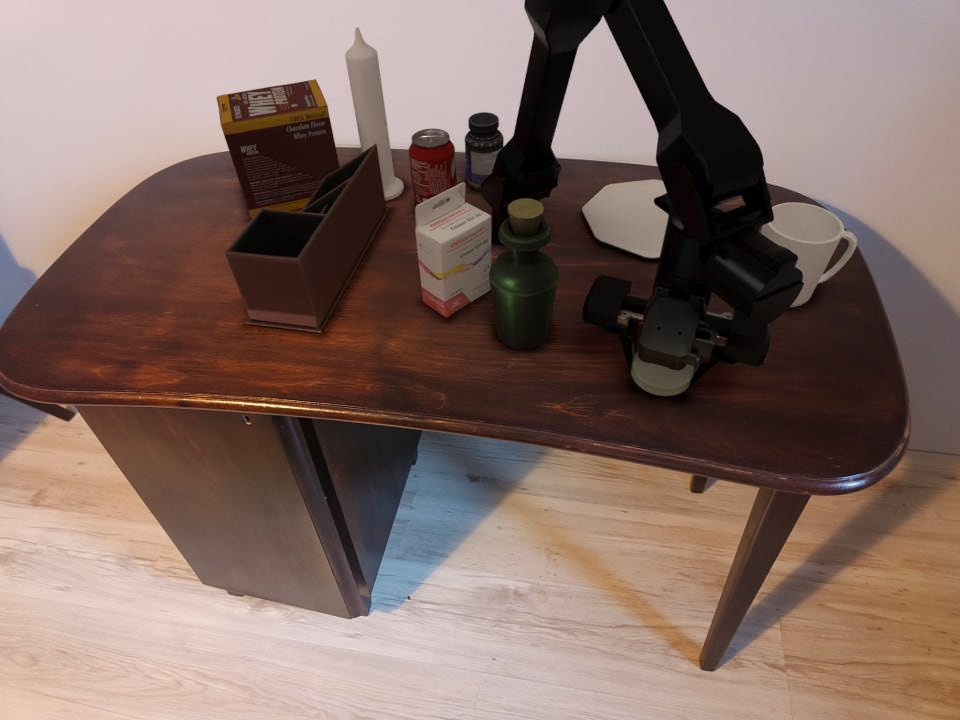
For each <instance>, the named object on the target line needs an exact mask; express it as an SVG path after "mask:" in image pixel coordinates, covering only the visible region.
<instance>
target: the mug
mask: <svg viewBox="0 0 960 720" xmlns="http://www.w3.org/2000/svg"><path fill="white" fill-rule="evenodd" d="M772 210H773V215H774V220H773V221H772V222H770V223H767V224H765V225H762V227H761V230H760V233H761V234H763V235H764V236H766V237H767V238H769V239H770V240H772V241H773V242H775V243H776V244H778V245H779V246H782V247H785V248H787V249H789V250H790V251H792V252H793V253H795V254H796V255H797V256H798V261H797V263H796V265H795V267H797V268H798V269H800V270H801V271H802V273H803V281H802V282H803V283H804V285H803V288H802V290H801V292H800V294H799V296H798V297H797V298H796V300H795V301H794V303H793V304H792V305H791V306H790V307H789V308H788V309H790V308H797V307H801V306H802V305H803V304H804V305H805V304H806V303H807V302H809V300H810V299H811V298H812V296H813V294H814V292H815V290H816V288H817V286H818V284H823V283H824V282H826V281H828V280H830V279H831V278H832V277H833V276H834V275H836V274H837V273H838V272H839V271H840V270H841V269H842V268H843V267H844V266H845V265H846V264H847V262H848V261H849V260H850V259H851V258H852V256H853V254H854V252H855V251H856V249H857V247H858V238H857V236H855V234H854V233H853V232H851V231H848V230H845V226H844V222H843V221H842V220H841V219H840V218H839V217H838V216H837V214H835V213H833V212H832V211H830V210H827V209H826V208H824V207H821V206H818V205H815V204H811V203H806V202H796V201H794V202H793V201H791V202H782V203H779V204H776V205H773V206H772ZM842 239H844V240H847V242H848V247H847V248H846V250H845V251H844V254H843V255H841V257H840V258H839V260H838V261H836V262H835V264H834V265H833V266H832V267H831V268H830V269H829V270H827V271H826V272H825V270H826V269H827V266H829V265H828V264H830V263H829V262H830V261H831V259H832V257H833V255H834V254H835V251H836V249H837V247H838V245H839V244H840V242H841V240H842ZM824 272H825V273H824Z"/></svg>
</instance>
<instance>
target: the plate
mask: <svg viewBox="0 0 960 720" xmlns="http://www.w3.org/2000/svg"><path fill="white" fill-rule="evenodd" d="M666 193H667V192H666V189H665V186H664V183H663V180H662V179H652V178H651V179H643V180H635V181H625V182H618V183H617V182H616V183H610V184H607V185H604V186H603V188H601V189H600V190H599V191H598V192H597V193H596V194H595V195H594V196H593V197H592V198H591V199H590V200H588V201H587V202H586V203H585V204H584V205H583V206H582V209H581V213H582V215H583V216H584V218H585V220H586V223H587V225H588V227H589V229H590V231H591V233H592V235H593V237H594V238H595V240H596V241H598V242H599V243H601V244H604V245H606V246H610V247H612V248H614V249H615V248H616V249H618V250H621V251H624V252H627V253H629V254H632V255H634V256H637V257H640V258H643V259H646V260H659V258H660V253H661V249H662V244H663V239H664V235H665V230H666V225H667V221H668V214H667V213H666V212H664V211H663V210H662V209H660V208H659V207H658V206H656V205H655V204H654V199H655V198H656V197H659V196H662V195H664V194H666Z"/></svg>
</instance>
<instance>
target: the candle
mask: <svg viewBox="0 0 960 720" xmlns="http://www.w3.org/2000/svg"><path fill="white" fill-rule="evenodd" d="M344 59H345V63H346V69H347V75H348V81H349V87H350V92H351V98H352V105H353V110H354V115H355V121H356V126H357V127H356V128H357V132H358V133H357V134H358V138H359V143H360V149H361V153H363V152H364V151H366V150H367V149H369V148H370V147H372V146H373V145H374V144H377V150H378V157H379V163H380V171H381V177H382V184H383V190H384V197H385V202H387V201H390V200H391V201H392V200H393V199H396V198H398V197H399V196H401V195H402V193H403V192H404V189H405V186H404V185H405V184H404V182H403V180H402V179H400V178H399V177H397V176H395V171H394V163H393V157H392V149H391V142H390V136H389V128H388V127H389V126H388V120H387V112H386V106H385V105H386V104H385V99H384V92H383V91H384V90H383V84H382V78H381V77H382V76H381V70H380V63H379V55H378V51H377V49H376V48H374V47H372V46H371V45H370V44H368V43H367V42H366V41H365V40H364V38H363V35H362V31H361V29H360V28H359V26H356V27H355V30H354V40H353V43H352V45H351V46H350V47H349V48H348V49H347V50H346V51H345V54H344Z"/></svg>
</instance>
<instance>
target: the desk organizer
mask: <svg viewBox="0 0 960 720" xmlns="http://www.w3.org/2000/svg"><path fill="white" fill-rule="evenodd" d="M390 210H391V207H390V206H387V205H386V201H385V197H384V190H383V184H382V177H381V171H380V163H379V157H378V150H377V144H374V145H373V146H372V147H370V148H369V149H367V150H366V151H364V152H363V153H362V152H361V153H359V154H358V155H357V156H355V157H353V158H352V159H350V160H349V161H347V162H346V163H344V164H342V165H341V166H339V168H338V169H336V170H335V171H333V172H332V173H330V174H328V175H327V176H325V177H324V178H323V180H322V181H321V183H320V184H319V186H318V188H317V189H316V191H315V192H314V193H313V195H312V196H311V198H310V199H309V201H308V202H307V204H306V205H305V206H304V208H301V210H300V211H296V210H291V211H285V210H275V209H267V208H261V209H260V210H259V211H258V212H257V214H256V215H255V216H254V217H253V218H251V220H250V221H249V222H248V223H247V224H246V226H245V227H244V228H243V229H242V230H241V232H240V233H239V234H238V236H236V237H235V239H234V240H233V242H232V243H231V244H230V245H229V246H228V248H226V250H225V251H224V255H225V257H226V260H227V263H228V265H229V269H230V271H231V273H232V274H233V278H234V280H235V282H236V285H237V288H238V290H239V294H240V296H241V299H242V301H243V303H244V306H245V309H246V312H247V315H248V318H247V319H246V321H245V322H244V323H245V324H246V325H252V326H262V327H270V328H279V329H284V330H285V329H286V330H294V331H301V332H309V333H317V334H323V330H324V329H325V327H326V326H327V323H328V321H329V320H330V318H331V316H332V315H333V312H334V311H335V309H336V307H337V305H338V303H339V302H340V300H341V298H342V297H343V294H344V292H345V291H346V288H347V287H348V285H349V284H350V282H351V280H352V278H353V276H354V274H355V272H356V271H357V269H358V267H359V265H360V263H361V261H362V260H363V259H364V256H365V255H366V253H367V251H368V249H369V248H370V247H371V244H372V242H373V240H374V238H375V237H376V235H377V233H378V232H379V230H380V228H381V226H382V225H383V222H384V221H385V219H386V217H387V215H388V213H389V211H390Z"/></svg>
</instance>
